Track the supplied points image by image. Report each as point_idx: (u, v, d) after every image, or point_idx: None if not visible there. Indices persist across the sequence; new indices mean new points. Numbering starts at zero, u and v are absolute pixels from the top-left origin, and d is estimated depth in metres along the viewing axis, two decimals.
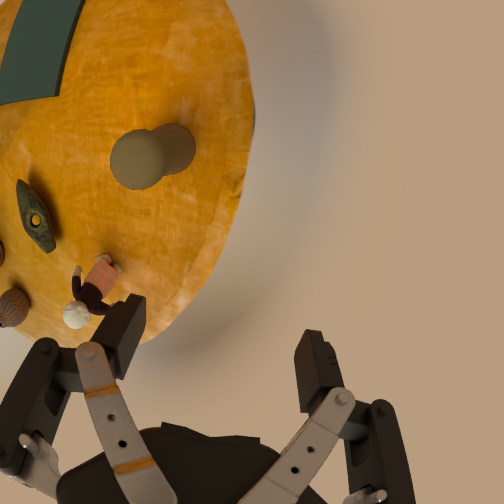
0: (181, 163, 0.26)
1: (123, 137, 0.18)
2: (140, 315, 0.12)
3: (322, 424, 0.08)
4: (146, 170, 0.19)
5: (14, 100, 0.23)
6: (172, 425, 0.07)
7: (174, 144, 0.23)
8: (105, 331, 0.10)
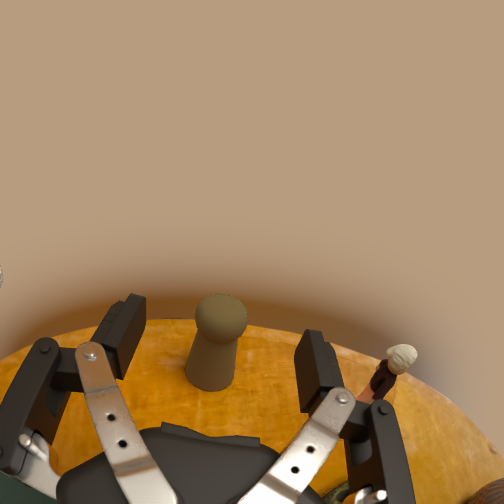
0: None
1: (204, 315, 0.24)
2: (140, 315, 0.12)
3: (322, 424, 0.08)
4: (228, 297, 0.27)
5: None
6: (173, 425, 0.07)
7: None
8: (104, 331, 0.10)
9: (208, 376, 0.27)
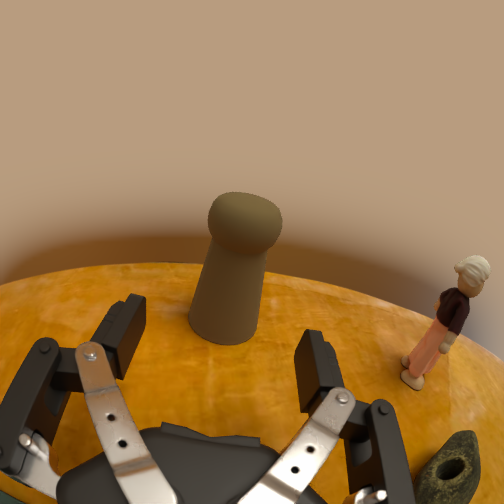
0: None
1: (223, 206, 0.17)
2: (140, 315, 0.12)
3: (322, 424, 0.08)
4: None
5: None
6: (172, 425, 0.07)
7: None
8: (104, 331, 0.10)
9: (224, 317, 0.20)
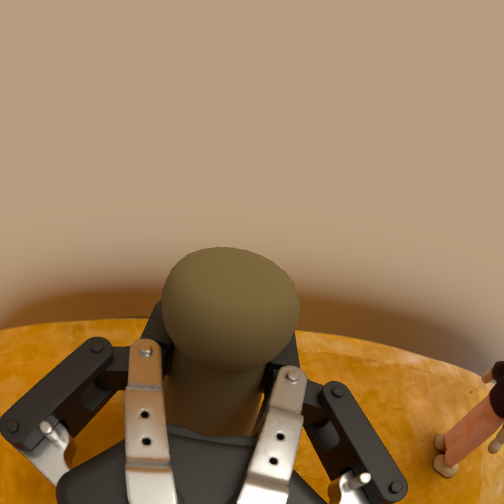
0: None
1: (181, 295, 0.08)
2: None
3: (281, 407, 0.08)
4: (246, 252, 0.11)
5: None
6: (173, 425, 0.07)
7: None
8: (153, 329, 0.11)
9: None
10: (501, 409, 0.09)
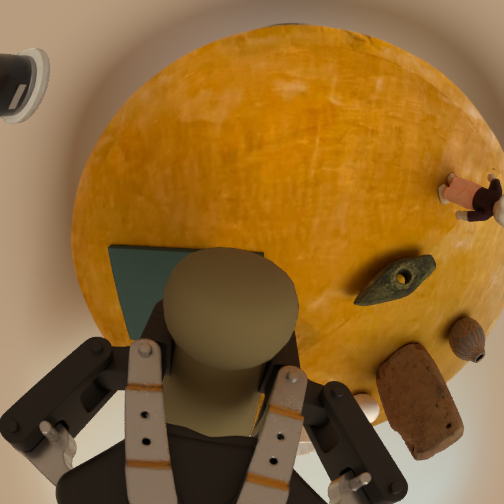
0: None
1: (183, 294, 0.08)
2: None
3: (282, 407, 0.08)
4: (246, 252, 0.11)
5: None
6: (173, 425, 0.07)
7: None
8: (153, 328, 0.11)
9: None
10: (474, 203, 0.21)
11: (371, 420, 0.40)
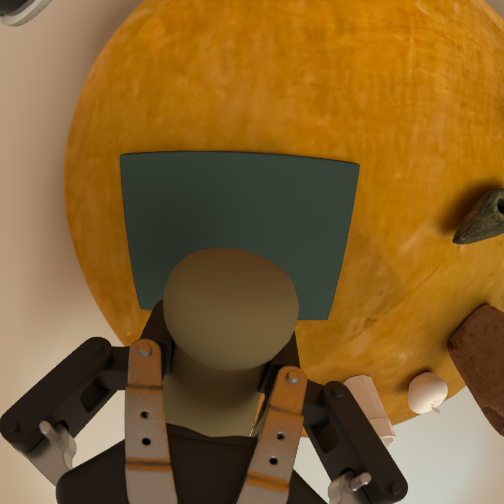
0: None
1: (183, 294, 0.08)
2: None
3: (282, 407, 0.08)
4: (246, 253, 0.11)
5: (339, 266, 0.24)
6: (172, 425, 0.07)
7: None
8: (153, 329, 0.11)
9: None
10: None
11: (439, 402, 0.30)
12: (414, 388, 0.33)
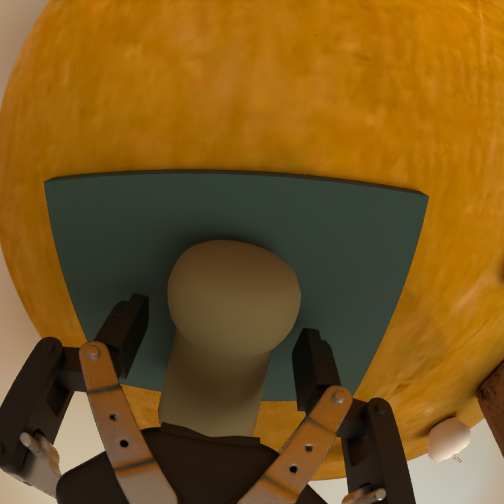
0: None
1: (188, 279, 0.09)
2: (143, 314, 0.12)
3: (319, 422, 0.08)
4: (249, 244, 0.11)
5: (379, 341, 0.15)
6: (173, 425, 0.07)
7: None
8: (108, 331, 0.10)
9: (205, 431, 0.11)
10: None
11: None
12: (436, 437, 0.23)
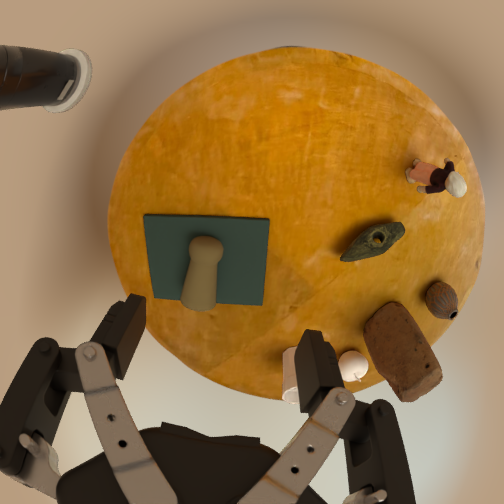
0: None
1: (194, 244, 0.39)
2: (140, 315, 0.12)
3: (322, 424, 0.08)
4: (210, 237, 0.41)
5: (263, 274, 0.45)
6: (172, 424, 0.07)
7: None
8: (104, 331, 0.10)
9: (196, 295, 0.41)
10: (431, 179, 0.32)
11: (361, 374, 0.51)
12: (340, 360, 0.54)
